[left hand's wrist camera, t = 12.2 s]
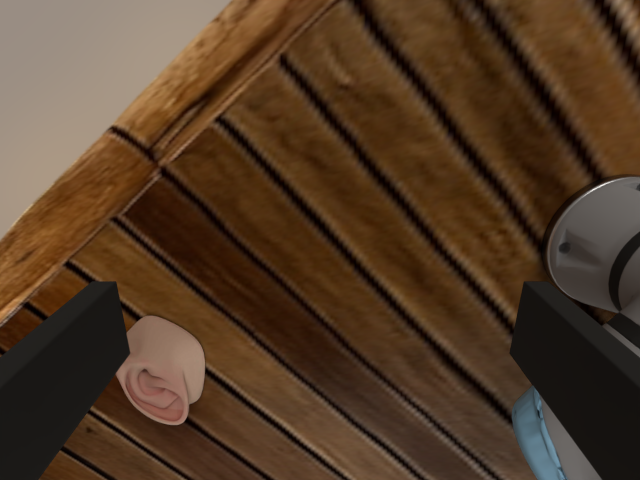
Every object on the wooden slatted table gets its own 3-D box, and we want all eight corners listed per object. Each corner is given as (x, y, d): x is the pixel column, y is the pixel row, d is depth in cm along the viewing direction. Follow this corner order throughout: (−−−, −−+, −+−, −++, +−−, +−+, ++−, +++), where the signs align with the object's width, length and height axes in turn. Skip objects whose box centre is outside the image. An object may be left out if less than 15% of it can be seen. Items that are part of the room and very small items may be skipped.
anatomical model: (110, 325, 45) (209, 351, 46) (126, 307, 48) (218, 332, 50) (96, 412, 49) (187, 434, 50) (112, 390, 53) (196, 410, 54)
